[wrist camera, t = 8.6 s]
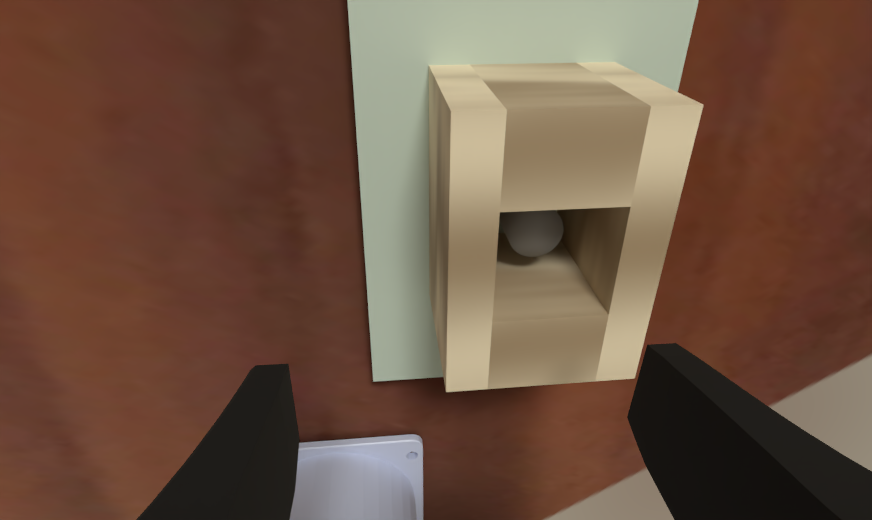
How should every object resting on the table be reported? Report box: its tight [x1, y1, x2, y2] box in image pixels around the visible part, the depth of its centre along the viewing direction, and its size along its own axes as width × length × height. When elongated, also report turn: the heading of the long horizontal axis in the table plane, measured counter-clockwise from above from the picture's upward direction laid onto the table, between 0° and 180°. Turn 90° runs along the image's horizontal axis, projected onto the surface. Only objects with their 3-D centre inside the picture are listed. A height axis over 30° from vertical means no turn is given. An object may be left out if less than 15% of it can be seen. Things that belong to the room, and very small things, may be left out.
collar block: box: [429, 62, 703, 392], centre depth 16 cm, size 8×6×5 cm
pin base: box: [347, 0, 699, 382], centre depth 17 cm, size 16×10×4 cm, turn 0°
